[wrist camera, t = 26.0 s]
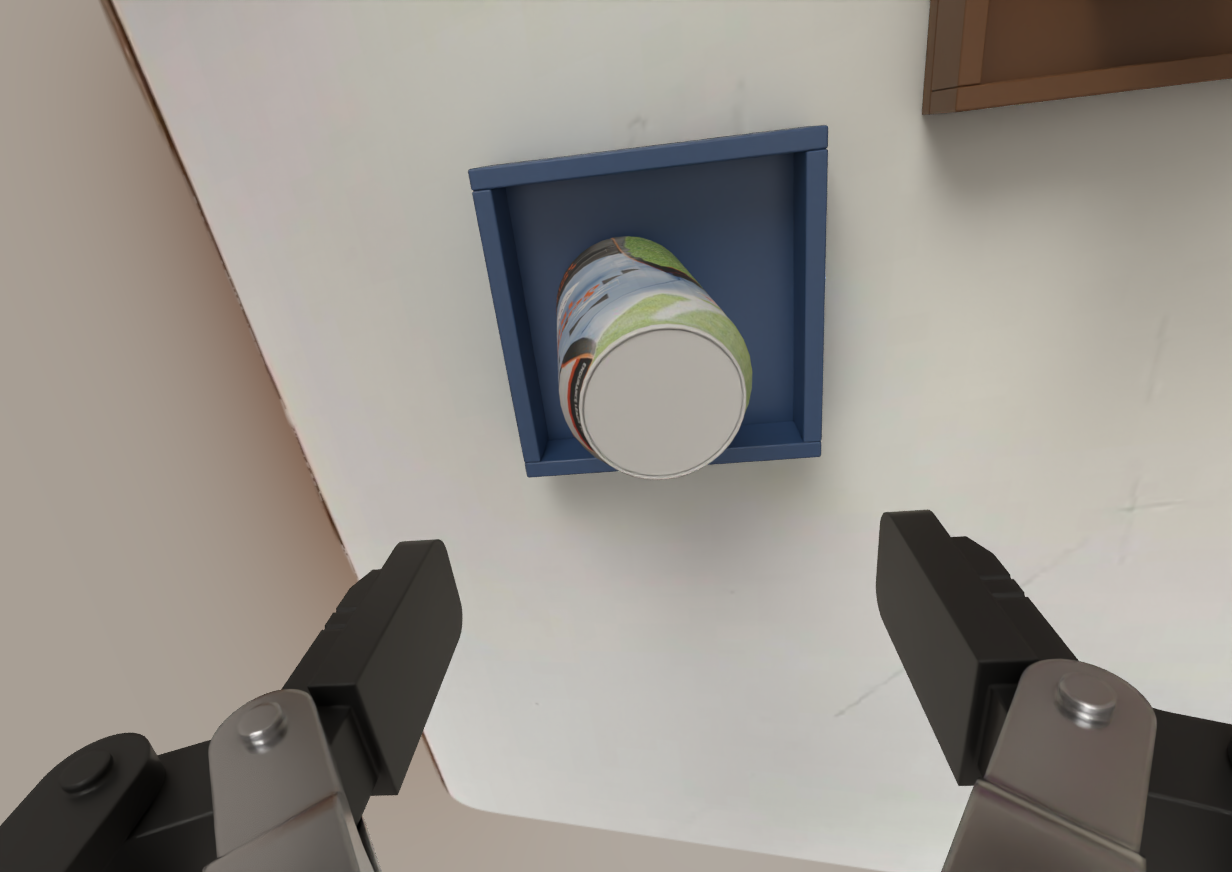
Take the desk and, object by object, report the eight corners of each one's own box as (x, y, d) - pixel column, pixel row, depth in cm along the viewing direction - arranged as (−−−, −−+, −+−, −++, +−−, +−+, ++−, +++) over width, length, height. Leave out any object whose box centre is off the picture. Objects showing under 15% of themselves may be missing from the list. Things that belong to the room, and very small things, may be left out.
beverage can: (560, 229, 28) (497, 289, 17) (730, 235, 28) (776, 300, 17) (562, 367, 31) (508, 494, 20) (717, 373, 30) (749, 507, 19)
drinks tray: (487, 165, 28) (467, 169, 25) (809, 126, 26) (828, 124, 23) (539, 447, 33) (527, 478, 30) (806, 427, 32) (821, 457, 29)
